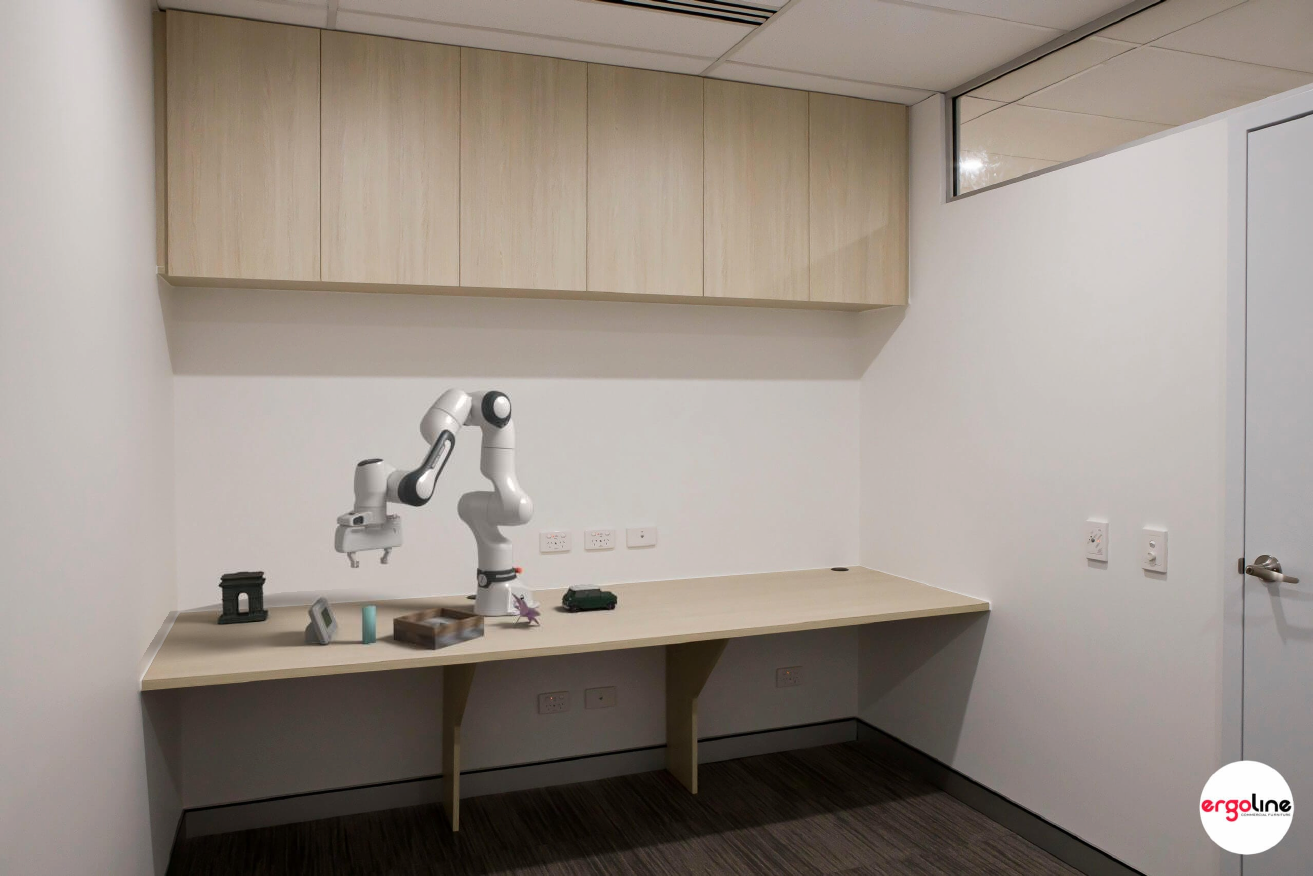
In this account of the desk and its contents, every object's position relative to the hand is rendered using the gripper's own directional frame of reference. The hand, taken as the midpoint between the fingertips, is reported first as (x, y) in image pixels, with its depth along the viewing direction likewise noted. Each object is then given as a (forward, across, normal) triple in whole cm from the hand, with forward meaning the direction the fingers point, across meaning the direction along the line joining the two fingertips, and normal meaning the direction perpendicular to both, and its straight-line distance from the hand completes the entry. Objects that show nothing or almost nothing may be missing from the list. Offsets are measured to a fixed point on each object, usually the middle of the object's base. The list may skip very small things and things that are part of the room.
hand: (369, 565), depth 244 cm
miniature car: (+21, -69, +21) cm, 75 cm away
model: (+22, +9, -53) cm, 58 cm away
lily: (+21, -40, +21) cm, 50 cm away
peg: (+22, 0, 0) cm, 22 cm away
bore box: (+21, -16, +11) cm, 29 cm away
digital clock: (+22, +6, -14) cm, 27 cm away
